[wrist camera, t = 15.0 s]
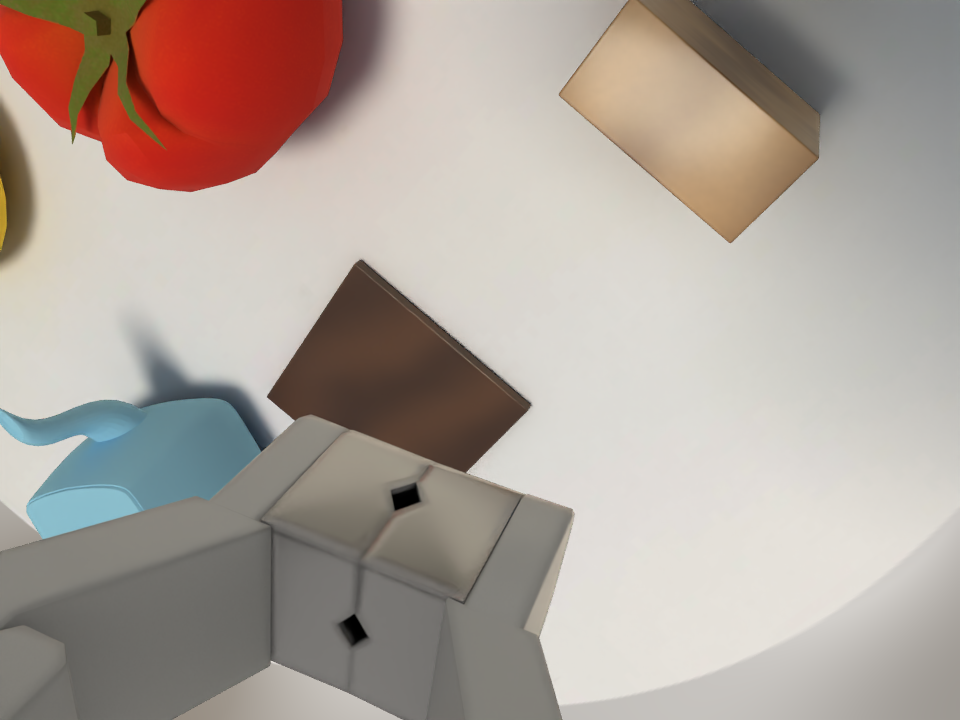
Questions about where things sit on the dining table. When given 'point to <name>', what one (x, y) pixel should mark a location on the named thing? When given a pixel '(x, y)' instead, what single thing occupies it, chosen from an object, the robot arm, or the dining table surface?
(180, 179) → the tomato
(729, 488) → the dining table surface
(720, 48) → the prop block
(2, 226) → the vase
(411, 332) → the coaster
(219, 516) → the robot arm
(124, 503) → the teapot
